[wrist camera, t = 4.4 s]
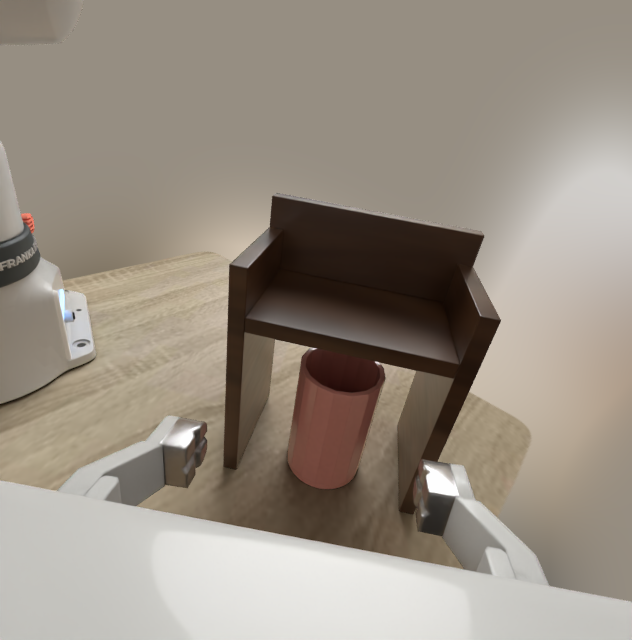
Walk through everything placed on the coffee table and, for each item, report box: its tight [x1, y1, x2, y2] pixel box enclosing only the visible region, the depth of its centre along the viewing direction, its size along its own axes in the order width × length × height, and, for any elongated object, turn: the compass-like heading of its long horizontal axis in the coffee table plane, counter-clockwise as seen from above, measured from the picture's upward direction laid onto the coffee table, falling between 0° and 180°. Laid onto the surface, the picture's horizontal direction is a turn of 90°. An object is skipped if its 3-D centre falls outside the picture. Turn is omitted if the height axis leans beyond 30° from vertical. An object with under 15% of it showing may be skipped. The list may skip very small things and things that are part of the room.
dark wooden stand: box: [223, 193, 501, 514], centre depth 31 cm, size 10×16×21 cm, turn 80°
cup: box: [287, 348, 385, 489], centre depth 32 cm, size 7×7×10 cm
